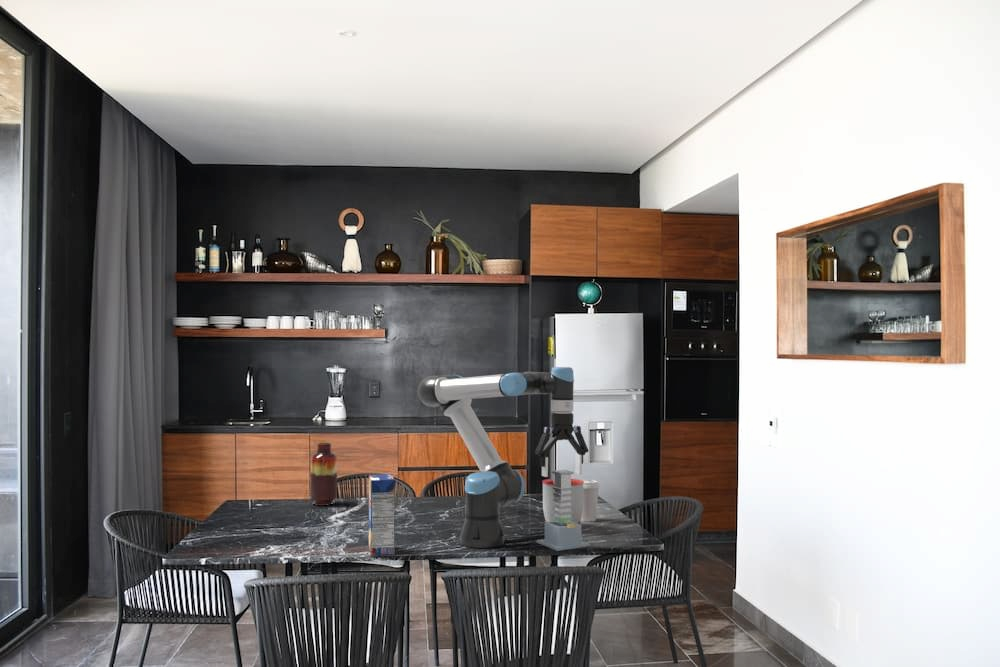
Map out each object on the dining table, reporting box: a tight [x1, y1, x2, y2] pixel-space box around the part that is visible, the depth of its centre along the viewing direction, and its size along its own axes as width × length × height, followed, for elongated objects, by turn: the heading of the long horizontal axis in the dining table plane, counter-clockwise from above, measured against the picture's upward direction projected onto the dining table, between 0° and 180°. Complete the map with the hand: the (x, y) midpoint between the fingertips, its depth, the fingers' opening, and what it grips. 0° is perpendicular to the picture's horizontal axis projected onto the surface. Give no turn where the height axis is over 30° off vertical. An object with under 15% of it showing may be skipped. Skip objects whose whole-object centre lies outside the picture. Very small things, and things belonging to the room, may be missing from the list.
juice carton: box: [368, 473, 396, 557], centre depth 252 cm, size 12×8×24 cm, turn 13°
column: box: [551, 469, 574, 526], centre depth 261 cm, size 5×5×18 cm
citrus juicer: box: [541, 478, 584, 524], centre depth 288 cm, size 16×17×20 cm
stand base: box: [536, 521, 591, 552], centre depth 261 cm, size 13×13×8 cm
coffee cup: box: [581, 479, 601, 523], centre depth 300 cm, size 10×10×15 cm
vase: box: [310, 441, 338, 505], centre depth 332 cm, size 11×11×26 cm
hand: (561, 475), depth 262 cm, fingers open, 13 cm apart
